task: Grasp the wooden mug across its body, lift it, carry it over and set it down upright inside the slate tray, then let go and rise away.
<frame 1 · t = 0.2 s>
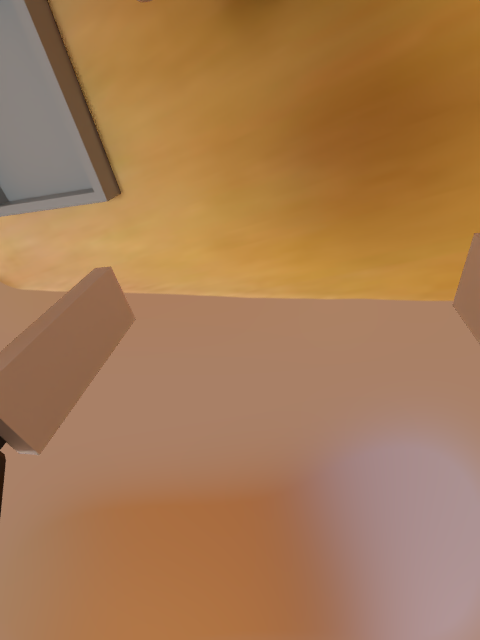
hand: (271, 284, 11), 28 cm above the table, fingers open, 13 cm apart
slate tray: (19, 114, 35), on the table
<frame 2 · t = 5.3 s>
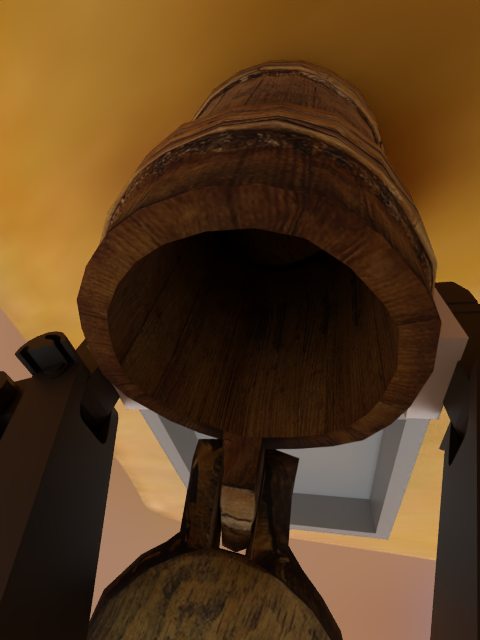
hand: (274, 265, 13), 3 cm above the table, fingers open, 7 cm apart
wooden mug: (272, 235, 15), on the table, touching gripper
slate tray: (283, 441, 27), on the table
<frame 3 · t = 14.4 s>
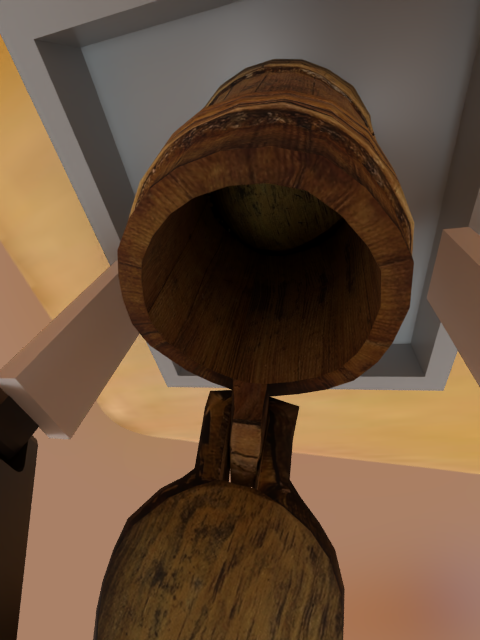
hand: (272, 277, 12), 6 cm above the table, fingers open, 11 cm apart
wooden mug: (273, 222, 16), resting on slate tray
slate tray: (280, 222, 17), on the table
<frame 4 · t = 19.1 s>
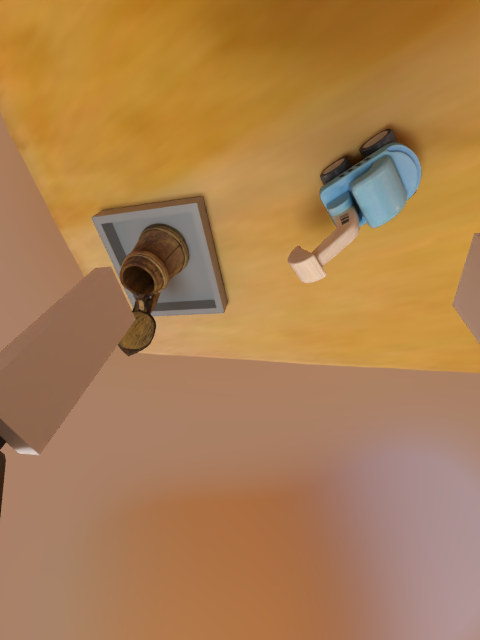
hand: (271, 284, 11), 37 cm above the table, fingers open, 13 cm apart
wooden mug: (166, 259, 54), resting on slate tray
toy excavator: (344, 190, 43), on the table
slate tray: (169, 259, 54), on the table
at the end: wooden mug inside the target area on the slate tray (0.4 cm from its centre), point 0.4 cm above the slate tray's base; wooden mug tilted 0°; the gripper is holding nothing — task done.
